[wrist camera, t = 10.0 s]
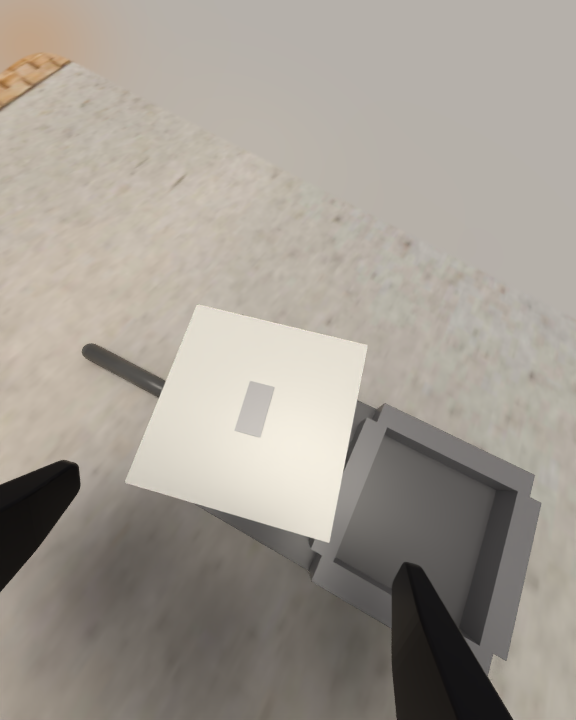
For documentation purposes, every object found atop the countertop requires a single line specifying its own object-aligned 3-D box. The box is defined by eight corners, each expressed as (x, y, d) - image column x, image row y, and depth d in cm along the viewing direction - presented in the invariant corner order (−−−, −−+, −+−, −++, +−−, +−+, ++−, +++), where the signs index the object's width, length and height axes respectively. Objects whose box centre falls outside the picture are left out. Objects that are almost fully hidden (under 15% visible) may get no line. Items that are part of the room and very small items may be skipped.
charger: (305, 505, 15) (329, 543, 7) (213, 479, 15) (123, 482, 7) (325, 412, 17) (368, 344, 8) (242, 390, 17) (196, 302, 8)
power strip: (447, 639, 15) (499, 692, 12) (46, 407, 19) (-13, 390, 15) (491, 479, 18) (546, 480, 14) (128, 301, 21) (94, 264, 18)
